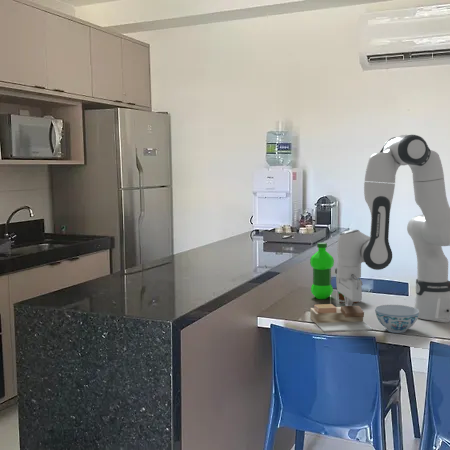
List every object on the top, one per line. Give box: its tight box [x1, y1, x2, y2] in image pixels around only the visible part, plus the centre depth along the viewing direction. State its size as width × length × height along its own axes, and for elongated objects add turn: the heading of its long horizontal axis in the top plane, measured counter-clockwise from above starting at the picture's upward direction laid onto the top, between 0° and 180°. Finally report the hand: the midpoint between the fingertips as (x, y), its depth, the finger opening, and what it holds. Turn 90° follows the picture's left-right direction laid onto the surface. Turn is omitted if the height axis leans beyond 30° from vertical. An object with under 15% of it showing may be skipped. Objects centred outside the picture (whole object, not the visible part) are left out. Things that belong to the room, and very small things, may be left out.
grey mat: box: [315, 320, 374, 333], centre depth 200 cm, size 18×10×1 cm, turn 96°
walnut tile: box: [340, 305, 365, 318], centre depth 204 cm, size 7×6×2 cm
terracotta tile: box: [313, 303, 337, 313], centre depth 209 cm, size 7×6×2 cm
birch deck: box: [309, 306, 364, 324], centre depth 210 cm, size 18×9×4 cm, turn 96°
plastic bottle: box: [309, 242, 335, 300], centre depth 247 cm, size 10×10×25 cm
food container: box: [337, 278, 363, 305], centre depth 236 cm, size 12×6×10 cm, turn 114°
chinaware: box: [374, 304, 419, 334], centre depth 195 cm, size 15×15×8 cm
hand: (348, 308), depth 209 cm, fingers closed
